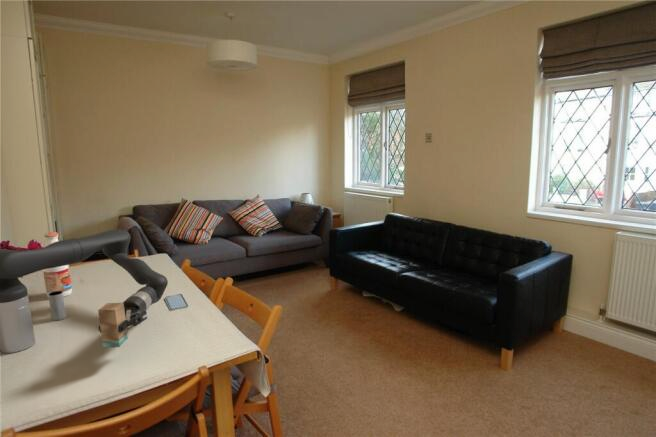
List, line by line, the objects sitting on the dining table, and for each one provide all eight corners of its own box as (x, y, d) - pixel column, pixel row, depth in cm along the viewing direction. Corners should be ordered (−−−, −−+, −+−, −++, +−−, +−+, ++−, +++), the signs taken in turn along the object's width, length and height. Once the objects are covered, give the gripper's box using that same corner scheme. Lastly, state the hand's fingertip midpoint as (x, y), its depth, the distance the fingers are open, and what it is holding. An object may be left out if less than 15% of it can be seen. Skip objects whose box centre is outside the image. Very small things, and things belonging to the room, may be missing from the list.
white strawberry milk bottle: (49, 292, 179) (40, 232, 173) (73, 289, 183) (65, 230, 177) (44, 300, 171) (35, 237, 165) (70, 296, 174) (62, 234, 169)
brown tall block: (107, 302, 122) (111, 338, 124) (98, 309, 117) (103, 347, 119) (123, 302, 122) (127, 338, 124) (115, 309, 117) (119, 347, 119)
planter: (64, 314, 156) (61, 290, 154) (67, 318, 153) (63, 293, 151) (50, 318, 153) (47, 293, 151) (53, 322, 150) (49, 296, 148)
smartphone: (170, 310, 160) (164, 297, 172) (170, 312, 160) (164, 299, 172) (189, 306, 163) (181, 293, 176) (189, 308, 163) (182, 295, 176)
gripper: (158, 315, 136) (135, 340, 120) (115, 316, 136) (87, 341, 119) (155, 295, 135) (132, 317, 118) (113, 295, 134) (84, 318, 118)
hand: (110, 329), depth 119 cm, fingers closed on brown tall block, 5 cm apart
